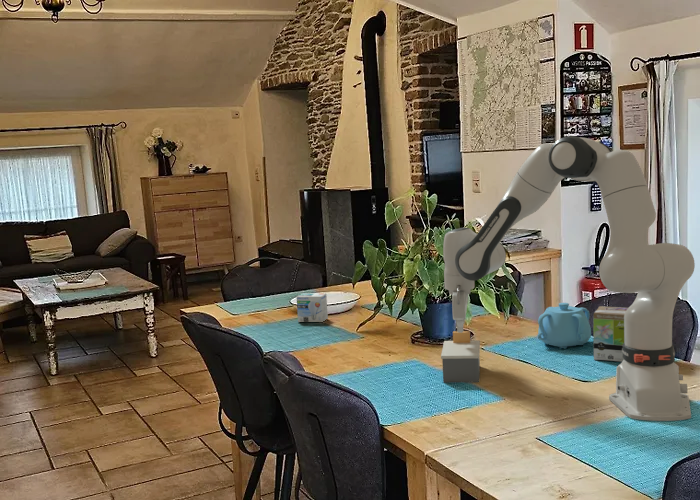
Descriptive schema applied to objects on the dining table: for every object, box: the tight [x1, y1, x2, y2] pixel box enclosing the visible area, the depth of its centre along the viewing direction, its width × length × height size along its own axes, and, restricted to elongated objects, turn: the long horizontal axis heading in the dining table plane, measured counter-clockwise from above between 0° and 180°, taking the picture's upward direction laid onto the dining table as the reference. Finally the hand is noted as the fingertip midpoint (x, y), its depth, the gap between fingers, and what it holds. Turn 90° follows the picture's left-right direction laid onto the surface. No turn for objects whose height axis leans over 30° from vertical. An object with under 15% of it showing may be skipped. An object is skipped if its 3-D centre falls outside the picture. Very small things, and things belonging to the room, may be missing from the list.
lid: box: [440, 330, 481, 360], centre depth 222 cm, size 17×11×5 cm, turn 170°
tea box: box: [592, 305, 629, 363], centre depth 228 cm, size 15×10×15 cm
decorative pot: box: [537, 302, 592, 349], centre depth 248 cm, size 16×16×14 cm
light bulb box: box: [296, 292, 329, 323], centre depth 305 cm, size 11×7×11 cm, turn 73°
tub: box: [441, 357, 481, 384], centre depth 223 cm, size 16×10×7 cm, turn 170°
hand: (461, 327), depth 229 cm, fingers open, 8 cm apart
